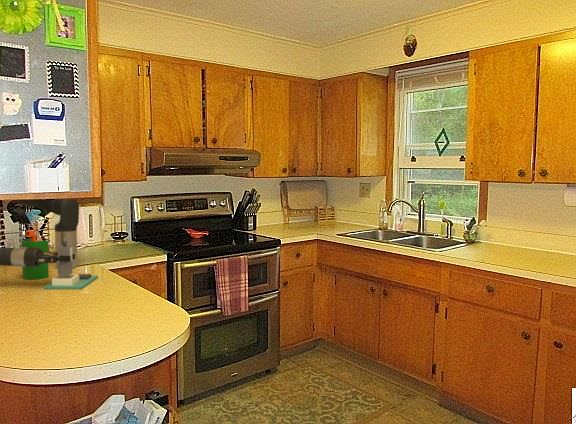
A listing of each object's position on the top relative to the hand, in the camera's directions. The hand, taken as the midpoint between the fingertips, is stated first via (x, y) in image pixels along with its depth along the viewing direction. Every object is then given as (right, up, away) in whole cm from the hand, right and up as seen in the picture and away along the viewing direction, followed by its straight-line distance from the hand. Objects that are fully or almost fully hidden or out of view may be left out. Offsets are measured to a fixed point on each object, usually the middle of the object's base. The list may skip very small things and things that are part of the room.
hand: (72, 257), depth 188 cm
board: (-2, -11, +5) cm, 12 cm away
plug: (-3, -6, 0) cm, 7 cm away
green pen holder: (-22, -10, +14) cm, 28 cm away
